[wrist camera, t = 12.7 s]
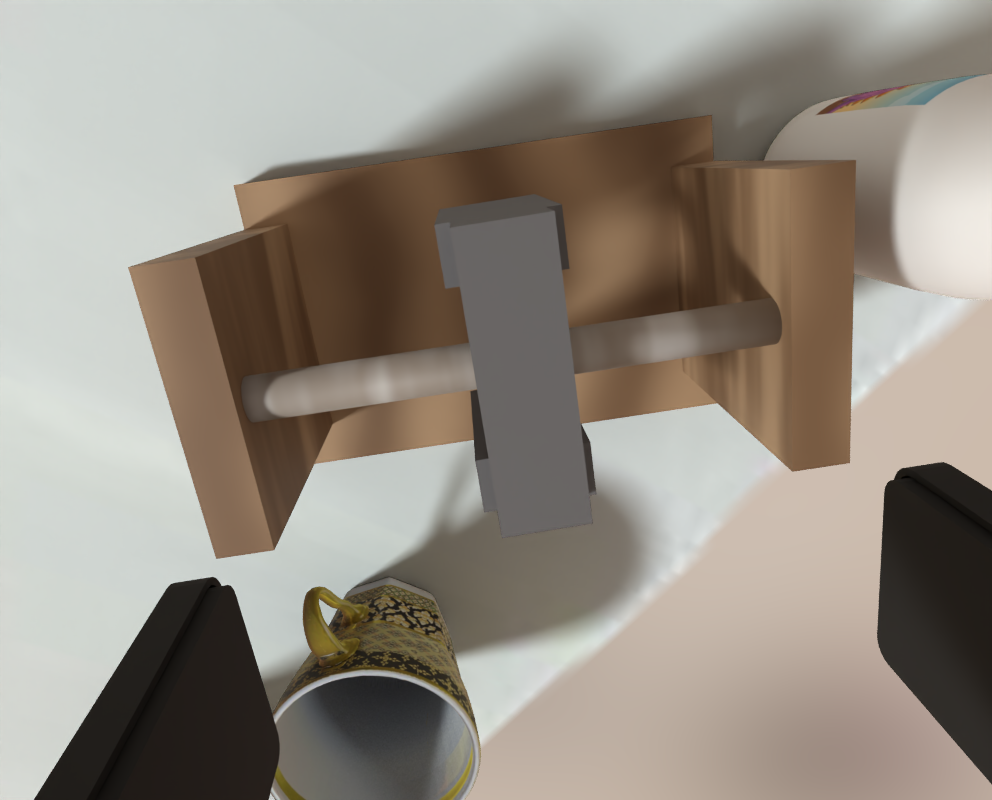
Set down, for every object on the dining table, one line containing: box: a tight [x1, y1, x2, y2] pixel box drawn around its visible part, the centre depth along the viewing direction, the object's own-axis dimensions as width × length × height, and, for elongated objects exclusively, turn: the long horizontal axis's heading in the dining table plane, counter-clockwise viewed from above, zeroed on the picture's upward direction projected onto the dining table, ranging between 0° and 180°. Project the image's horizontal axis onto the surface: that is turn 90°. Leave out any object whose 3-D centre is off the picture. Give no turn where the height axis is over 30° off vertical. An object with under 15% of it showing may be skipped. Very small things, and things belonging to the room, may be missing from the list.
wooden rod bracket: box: [128, 115, 856, 559], centre depth 30 cm, size 22×14×14 cm, turn 98°
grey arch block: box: [434, 194, 596, 538], centre depth 27 cm, size 10×4×10 cm, turn 9°
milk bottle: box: [764, 74, 992, 300], centre depth 26 cm, size 8×8×20 cm
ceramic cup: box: [270, 577, 481, 800], centre depth 37 cm, size 13×10×10 cm
